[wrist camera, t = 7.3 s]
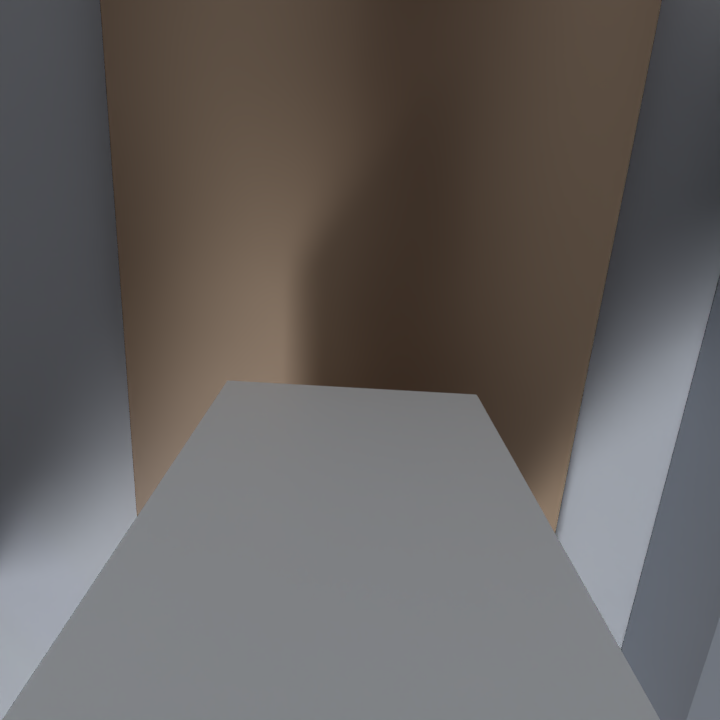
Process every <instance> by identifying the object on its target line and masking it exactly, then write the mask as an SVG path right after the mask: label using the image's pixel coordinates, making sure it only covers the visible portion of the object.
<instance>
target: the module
mask: <svg viewBox="0 0 720 720" xmlns="http://www.w3.org/2000/svg"><path fill="white" fill-rule="evenodd" d="M3 720H660V719H659V717H658V715H657V713H656V712H655V710H654V708H653V706H652V704H651V703H650V701H649V699H648V697H647V696H646V694H645V692H644V690H643V689H642V687H641V685H640V683H639V681H638V680H637V678H636V676H635V674H634V673H633V671H632V669H631V667H630V665H629V664H628V662H627V660H626V658H625V657H624V655H623V653H622V651H621V649H620V648H619V646H618V644H617V642H616V641H615V639H614V637H613V635H612V634H611V632H610V630H609V628H608V626H607V625H606V623H605V621H604V619H603V618H602V616H601V614H600V612H599V610H598V609H597V607H596V605H595V603H594V602H593V600H592V598H591V596H590V595H589V593H588V591H587V589H586V587H585V586H584V584H583V582H582V580H581V579H580V577H579V575H578V573H577V571H576V570H575V568H574V566H573V564H572V563H571V561H570V559H569V557H568V556H567V554H566V552H565V550H564V548H563V547H562V545H561V543H560V541H559V540H558V538H557V536H556V534H555V532H554V531H553V529H552V527H551V525H550V524H549V522H548V520H547V518H546V516H545V515H544V513H543V511H542V509H541V508H540V506H539V504H538V502H537V501H536V499H535V497H534V495H533V493H532V492H531V490H530V488H529V486H528V485H527V483H526V481H525V479H524V477H523V476H522V474H521V472H520V470H519V469H518V467H517V465H516V463H515V462H514V460H513V458H512V456H511V454H510V453H509V451H508V449H507V447H506V446H505V444H504V442H503V440H502V438H501V437H500V435H499V433H498V431H497V430H496V428H495V426H494V424H493V423H492V421H491V419H490V417H489V415H488V414H487V412H486V410H485V408H484V407H483V405H482V403H481V401H480V399H479V398H478V396H477V395H475V394H458V393H440V392H422V391H404V390H387V389H369V388H351V387H333V386H316V385H298V384H280V383H262V382H245V381H227V382H226V384H225V385H224V387H223V388H222V390H221V391H220V393H219V394H218V396H217V397H216V399H215V400H214V402H213V403H212V405H211V406H210V408H209V409H208V411H207V412H206V414H205V415H204V417H203V418H202V420H201V421H200V423H199V424H198V426H197V427H196V429H195V430H194V432H193V433H192V435H191V436H190V438H189V439H188V441H187V442H186V444H185V445H184V447H183V448H182V450H181V451H180V453H179V454H178V456H177V457H176V459H175V460H174V462H173V463H172V465H171V466H170V468H169V469H168V471H167V472H166V474H165V475H164V477H163V478H162V480H161V481H160V483H159V484H158V486H157V488H156V489H155V491H154V492H153V494H152V495H151V497H150V498H149V500H148V501H147V503H146V504H145V506H144V507H143V509H142V510H141V512H140V513H139V515H138V516H137V518H136V519H135V521H134V522H133V524H132V525H131V527H130V528H129V530H128V531H127V533H126V534H125V536H124V537H123V539H122V540H121V542H120V543H119V545H118V546H117V548H116V549H115V551H114V552H113V554H112V555H111V557H110V558H109V560H108V561H107V563H106V564H105V566H104V567H103V569H102V570H101V572H100V573H99V575H98V576H97V578H96V579H95V581H94V582H93V584H92V585H91V587H90V588H89V590H88V591H87V593H86V594H85V596H84V597H83V599H82V600H81V602H80V604H79V605H78V607H77V608H76V610H75V611H74V613H73V614H72V616H71V617H70V619H69V620H68V622H67V623H66V625H65V626H64V628H63V629H62V631H61V632H60V634H59V635H58V637H57V638H56V640H55V641H54V643H53V644H52V646H51V647H50V649H49V650H48V652H47V653H46V655H45V656H44V658H43V659H42V661H41V662H40V664H39V665H38V667H37V668H36V670H35V671H34V673H33V674H32V676H31V677H30V679H29V680H28V682H27V683H26V685H25V686H24V688H23V689H22V691H21V692H20V694H19V695H18V697H17V698H16V700H15V701H14V703H13V704H12V706H11V707H10V709H9V710H8V712H7V713H6V715H5V717H4V718H3Z"/></svg>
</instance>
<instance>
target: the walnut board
mask: <svg viewBox="0 0 720 720" xmlns="http://www.w3.org/2000/svg"><path fill="white" fill-rule="evenodd" d="M661 2H662V0H100V7H101V21H102V35H103V49H104V63H105V77H106V91H107V105H108V119H109V133H110V147H111V161H112V175H113V189H114V202H115V216H116V230H117V244H118V258H119V272H120V286H121V300H122V314H123V328H124V342H125V356H126V370H127V384H128V398H129V412H130V425H131V439H132V453H133V467H134V481H135V495H136V509H137V516H138V515H139V513H140V512H141V510H142V509H143V507H144V506H145V504H146V503H147V501H148V500H149V498H150V497H151V495H152V494H153V492H154V491H155V489H156V488H157V486H158V484H159V483H160V481H161V480H162V478H163V477H164V475H165V474H166V472H167V471H168V469H169V468H170V466H171V465H172V463H173V462H174V460H175V459H176V457H177V456H178V454H179V453H180V451H181V450H182V448H183V447H184V445H185V444H186V442H187V441H188V439H189V438H190V436H191V435H192V433H193V432H194V430H195V429H196V427H197V426H198V424H199V423H200V421H201V420H202V418H203V417H204V415H205V414H206V412H207V411H208V409H209V408H210V406H211V405H212V403H213V402H214V400H215V399H216V397H217V396H218V394H219V393H220V391H221V390H222V388H223V387H224V385H225V384H226V382H227V381H245V382H262V383H280V384H298V385H316V386H333V387H351V388H369V389H387V390H404V391H422V392H440V393H458V394H475V395H477V396H478V398H479V399H480V401H481V403H482V405H483V407H484V408H485V410H486V412H487V414H488V415H489V417H490V419H491V421H492V423H493V424H494V426H495V428H496V430H497V431H498V433H499V435H500V437H501V438H502V440H503V442H504V444H505V446H506V447H507V449H508V451H509V453H510V454H511V456H512V458H513V460H514V462H515V463H516V465H517V467H518V469H519V470H520V472H521V474H522V476H523V477H524V479H525V481H526V483H527V485H528V486H529V488H530V490H531V492H532V493H533V495H534V497H535V499H536V501H537V502H538V504H539V506H540V508H541V509H542V511H543V513H544V515H545V516H546V518H547V520H548V522H549V524H550V525H551V527H552V529H553V531H554V532H555V531H556V526H557V521H558V516H559V511H560V506H561V501H562V496H563V491H564V486H565V481H566V476H567V471H568V466H569V461H570V456H571V451H572V446H573V441H574V436H575V431H576V426H577V421H578V416H579V411H580V406H581V401H582V396H583V391H584V386H585V381H586V376H587V371H588V366H589V361H590V356H591V351H592V346H593V341H594V336H595V331H596V326H597V322H598V317H599V312H600V307H601V302H602V297H603V292H604V287H605V282H606V277H607V272H608V267H609V262H610V257H611V252H612V247H613V242H614V237H615V232H616V227H617V222H618V217H619V212H620V207H621V202H622V197H623V192H624V187H625V182H626V177H627V172H628V167H629V162H630V157H631V152H632V147H633V142H634V137H635V132H636V127H637V122H638V117H639V112H640V107H641V102H642V97H643V92H644V87H645V82H646V77H647V72H648V67H649V62H650V57H651V52H652V47H653V42H654V37H655V32H656V27H657V22H658V17H659V12H660V7H661Z"/></svg>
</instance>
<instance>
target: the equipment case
mask: <svg viewBox="0 0 720 720" xmlns="http://www.w3.org/2000/svg"><path fill="white" fill-rule="evenodd" d="M621 651H622V653H623V655H624V657H625V658H626V660H627V662H628V664H629V665H630V667H631V669H632V671H633V673H634V674H635V676H636V678H637V680H638V681H639V683H640V685H641V687H642V689H643V690H644V692H645V694H646V696H647V697H648V699H649V701H650V703H651V704H652V706H653V708H654V710H655V712H656V713H657V715H658V717H659V719H660V720H720V278H719V282H718V286H717V289H716V293H715V297H714V301H713V305H712V308H711V312H710V316H709V320H708V324H707V327H706V331H705V335H704V339H703V342H702V346H701V350H700V354H699V358H698V361H697V365H696V369H695V373H694V377H693V380H692V384H691V388H690V392H689V396H688V399H687V403H686V407H685V411H684V415H683V418H682V422H681V426H680V430H679V433H678V437H677V441H676V445H675V449H674V452H673V456H672V460H671V464H670V468H669V471H668V475H667V479H666V483H665V487H664V490H663V494H662V498H661V502H660V506H659V509H658V513H657V517H656V521H655V524H654V528H653V532H652V536H651V540H650V543H649V547H648V551H647V555H646V559H645V562H644V566H643V570H642V574H641V578H640V581H639V585H638V589H637V593H636V596H635V600H634V604H633V608H632V612H631V615H630V619H629V623H628V627H627V631H626V634H625V638H624V642H623V646H622V650H621Z"/></svg>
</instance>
